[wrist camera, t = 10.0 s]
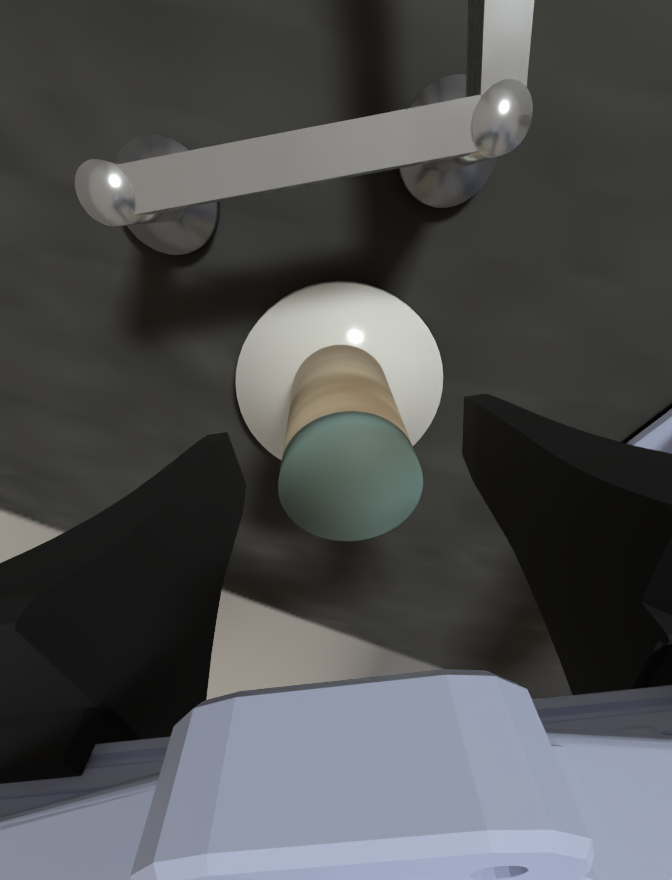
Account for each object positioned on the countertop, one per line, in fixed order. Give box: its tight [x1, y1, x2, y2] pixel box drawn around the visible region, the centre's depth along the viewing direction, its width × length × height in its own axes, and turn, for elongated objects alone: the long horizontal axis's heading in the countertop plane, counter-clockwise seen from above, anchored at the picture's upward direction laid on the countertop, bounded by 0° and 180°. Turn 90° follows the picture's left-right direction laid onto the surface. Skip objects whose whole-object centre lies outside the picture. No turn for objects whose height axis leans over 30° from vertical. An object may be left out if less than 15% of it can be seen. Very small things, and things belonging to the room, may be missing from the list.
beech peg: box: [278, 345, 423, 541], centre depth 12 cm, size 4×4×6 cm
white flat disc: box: [236, 281, 443, 461], centre depth 15 cm, size 8×8×1 cm
